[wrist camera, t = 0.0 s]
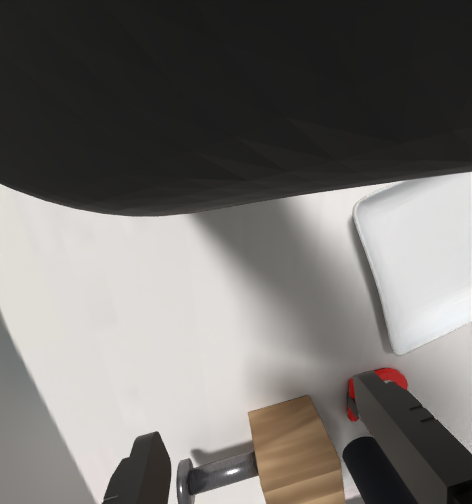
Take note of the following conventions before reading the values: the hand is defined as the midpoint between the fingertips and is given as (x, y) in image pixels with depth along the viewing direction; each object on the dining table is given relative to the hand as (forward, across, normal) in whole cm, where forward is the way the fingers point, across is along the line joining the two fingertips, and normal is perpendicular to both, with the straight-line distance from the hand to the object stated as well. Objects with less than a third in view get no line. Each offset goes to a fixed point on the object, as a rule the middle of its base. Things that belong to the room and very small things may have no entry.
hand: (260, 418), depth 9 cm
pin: (+16, +6, +25) cm, 30 cm away
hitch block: (+18, -2, +27) cm, 33 cm away
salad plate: (+18, -26, +3) cm, 32 cm away
